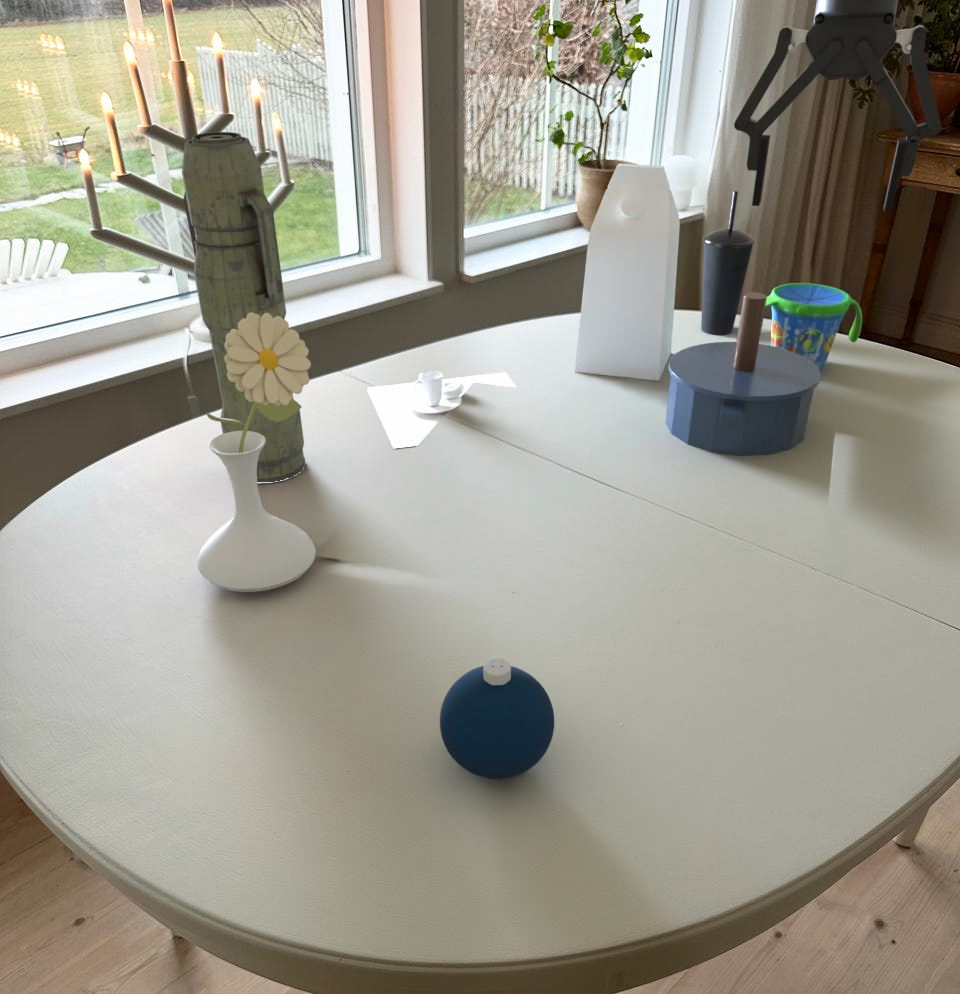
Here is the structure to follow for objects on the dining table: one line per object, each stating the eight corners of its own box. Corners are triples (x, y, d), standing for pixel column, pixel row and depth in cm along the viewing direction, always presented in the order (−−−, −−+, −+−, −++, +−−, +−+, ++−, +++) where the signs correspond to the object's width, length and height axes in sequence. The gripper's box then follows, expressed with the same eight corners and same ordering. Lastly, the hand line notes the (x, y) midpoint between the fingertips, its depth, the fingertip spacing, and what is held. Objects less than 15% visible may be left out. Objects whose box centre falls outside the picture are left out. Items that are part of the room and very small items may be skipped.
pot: (808, 404, 126) (820, 348, 121) (797, 478, 109) (810, 416, 105) (681, 389, 130) (687, 335, 126) (651, 458, 113) (657, 398, 109)
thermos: (255, 442, 118) (203, 124, 97) (330, 463, 113) (293, 133, 92) (204, 470, 112) (137, 138, 91) (281, 494, 107) (229, 148, 86)
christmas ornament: (546, 724, 76) (550, 621, 70) (558, 801, 69) (564, 695, 63) (441, 727, 76) (436, 625, 70) (442, 805, 69) (437, 699, 63)
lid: (822, 359, 120) (838, 280, 114) (814, 414, 107) (832, 328, 101) (680, 344, 125) (689, 268, 119) (656, 395, 111) (664, 312, 105)
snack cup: (842, 352, 141) (858, 282, 135) (862, 379, 133) (880, 305, 126) (735, 352, 142) (746, 281, 136) (748, 378, 133) (761, 305, 127)
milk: (671, 352, 142) (692, 159, 126) (658, 380, 133) (680, 177, 117) (591, 344, 145) (603, 155, 129) (574, 371, 136) (584, 172, 120)
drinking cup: (715, 318, 154) (733, 183, 142) (751, 331, 149) (774, 192, 137) (681, 328, 150) (697, 190, 138) (718, 341, 145) (738, 200, 133)
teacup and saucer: (459, 389, 131) (458, 360, 128) (474, 412, 125) (473, 382, 122) (396, 396, 129) (394, 367, 127) (408, 419, 123) (406, 389, 121)
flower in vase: (210, 614, 88) (153, 349, 73) (192, 554, 97) (137, 306, 82) (347, 584, 92) (319, 326, 77) (318, 529, 101) (287, 287, 86)
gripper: (725, -31, 91) (699, 208, 104) (1011, -36, 84) (947, 220, 97) (733, -33, 97) (708, 193, 109) (1002, -38, 90) (943, 203, 103)
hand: (820, 206), depth 103 cm, fingers open, 13 cm apart
